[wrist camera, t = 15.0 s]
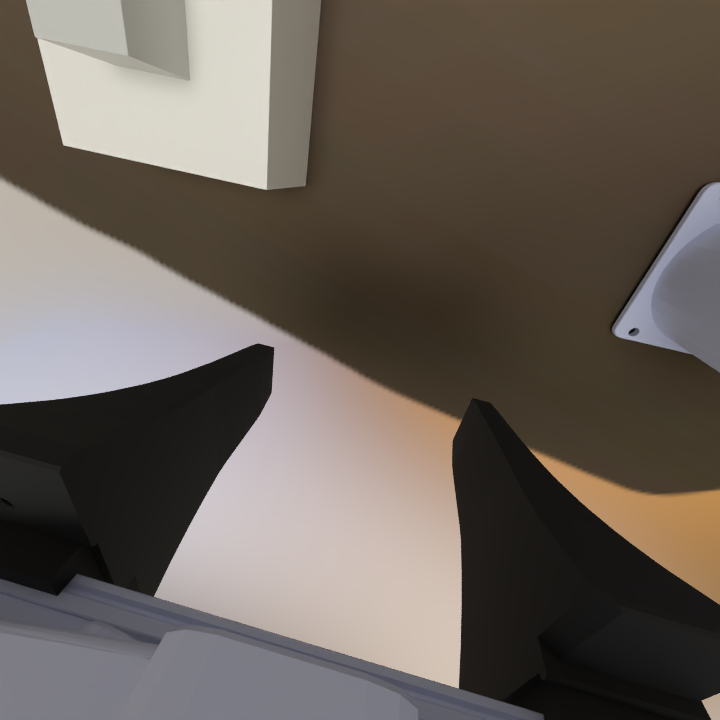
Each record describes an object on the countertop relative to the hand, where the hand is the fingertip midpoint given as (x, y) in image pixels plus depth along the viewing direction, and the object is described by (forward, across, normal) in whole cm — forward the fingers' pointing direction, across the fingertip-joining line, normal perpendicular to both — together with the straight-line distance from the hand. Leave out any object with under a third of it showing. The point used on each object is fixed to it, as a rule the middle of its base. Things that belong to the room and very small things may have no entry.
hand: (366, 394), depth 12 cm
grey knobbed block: (+10, +11, -10) cm, 18 cm away
